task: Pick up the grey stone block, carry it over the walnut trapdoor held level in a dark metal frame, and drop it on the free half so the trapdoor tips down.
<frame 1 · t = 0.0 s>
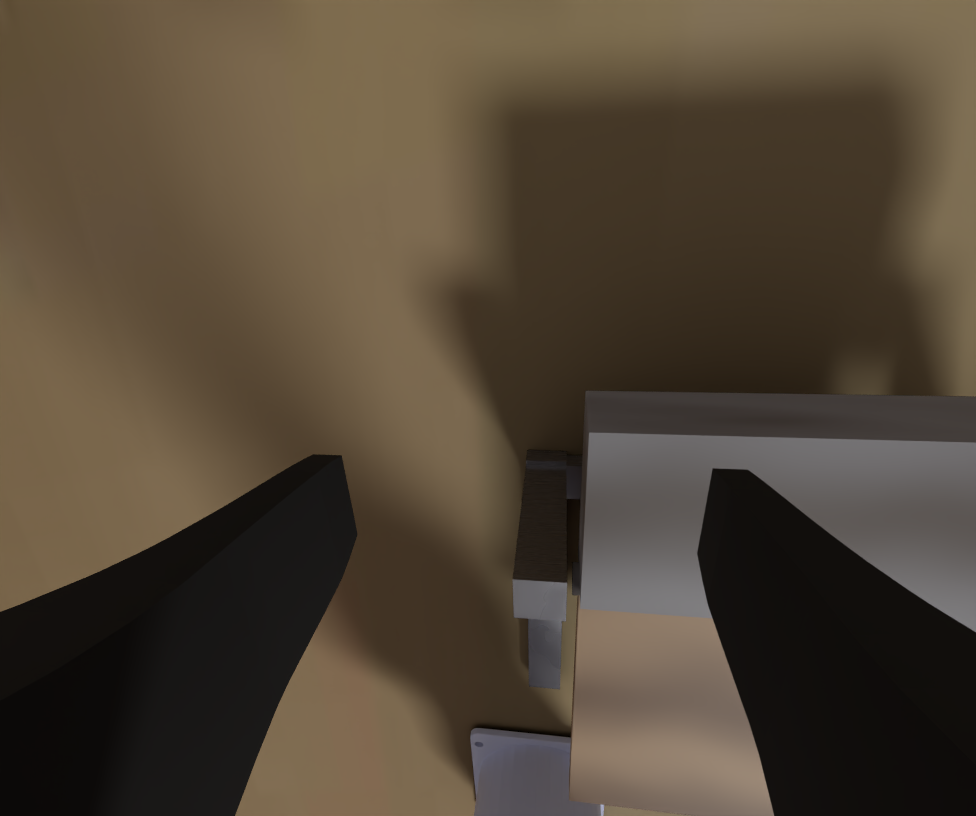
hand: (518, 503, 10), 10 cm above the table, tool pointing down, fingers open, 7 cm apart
trapdoor frame: (704, 586, 24), on the table
trapdoor: (762, 658, 17), point 6 cm above the table, hinge at 0.0°
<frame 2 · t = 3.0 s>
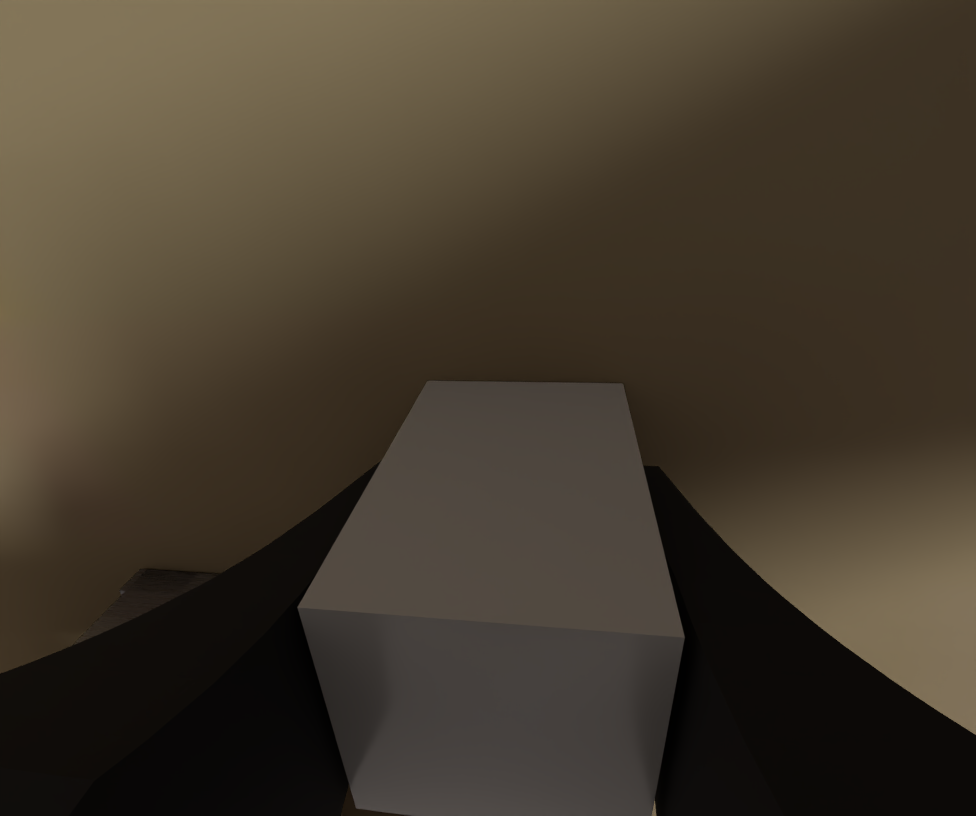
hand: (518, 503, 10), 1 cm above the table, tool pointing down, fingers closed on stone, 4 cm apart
stone: (523, 464, 11), on the table, touching gripper
trapdoor frame: (409, 759, 17), on the table
when the fingers open (10 cm above the table, at t = 6.5 s): stone drops 5 cm, resting on trapdoor.
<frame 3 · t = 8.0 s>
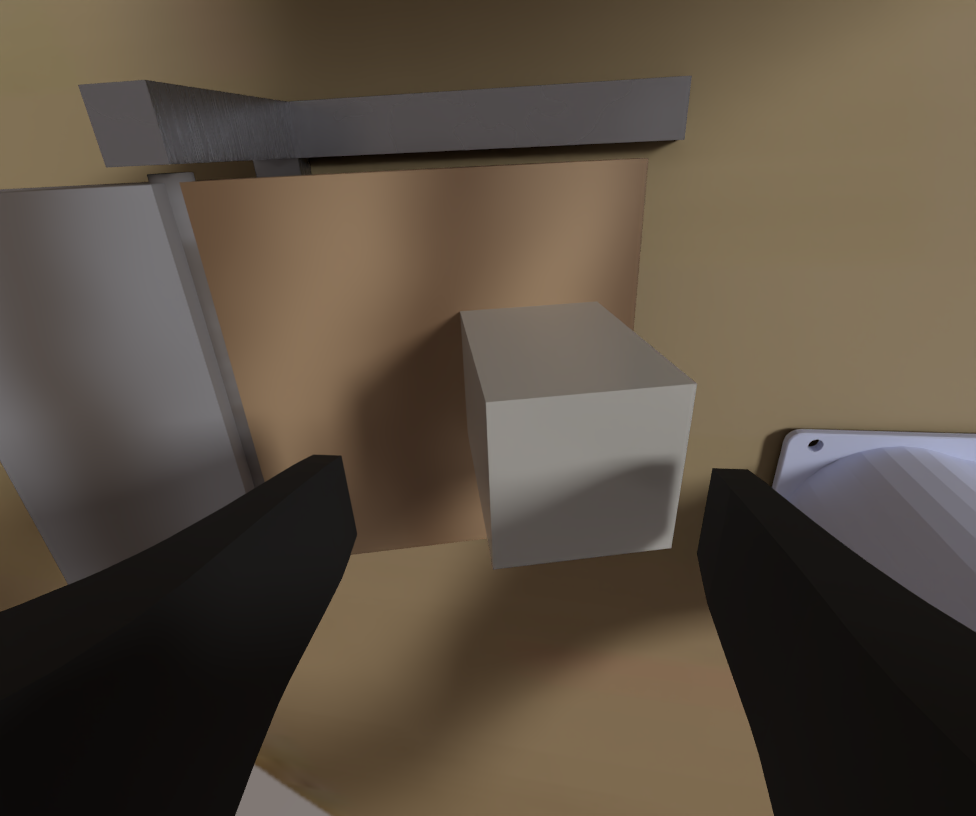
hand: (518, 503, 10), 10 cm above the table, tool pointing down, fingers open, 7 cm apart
stone: (529, 370, 16), point 4 cm above the table, tilted 15°, touching trapdoor
trapdoor frame: (468, 336, 20), on the table
trapdoor: (338, 392, 16), point 5 cm above the table, hinge at -15.2°, touching stone
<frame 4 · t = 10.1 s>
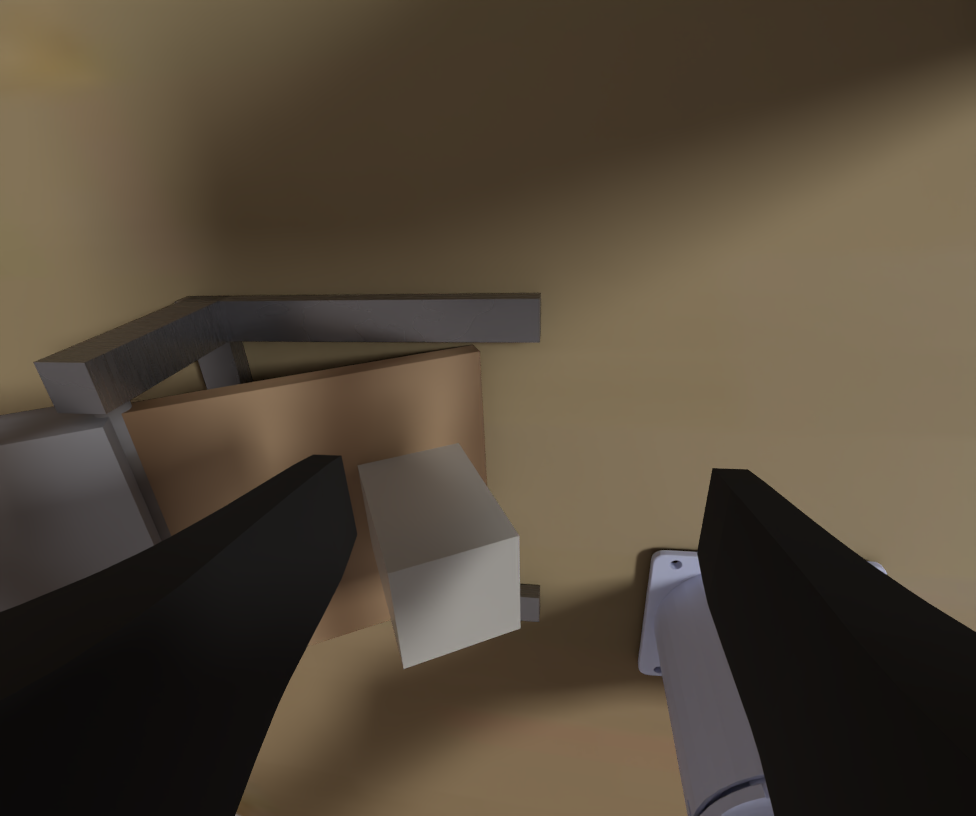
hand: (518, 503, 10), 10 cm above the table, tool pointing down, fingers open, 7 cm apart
stone: (414, 495, 21), point 2 cm above the table, tilted 28°, touching trapdoor
trapdoor frame: (384, 470, 23), on the table
trapdoor: (262, 534, 20), point 5 cm above the table, hinge at -28.1°, touching stone
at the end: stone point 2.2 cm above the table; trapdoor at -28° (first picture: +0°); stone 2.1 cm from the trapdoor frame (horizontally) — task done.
